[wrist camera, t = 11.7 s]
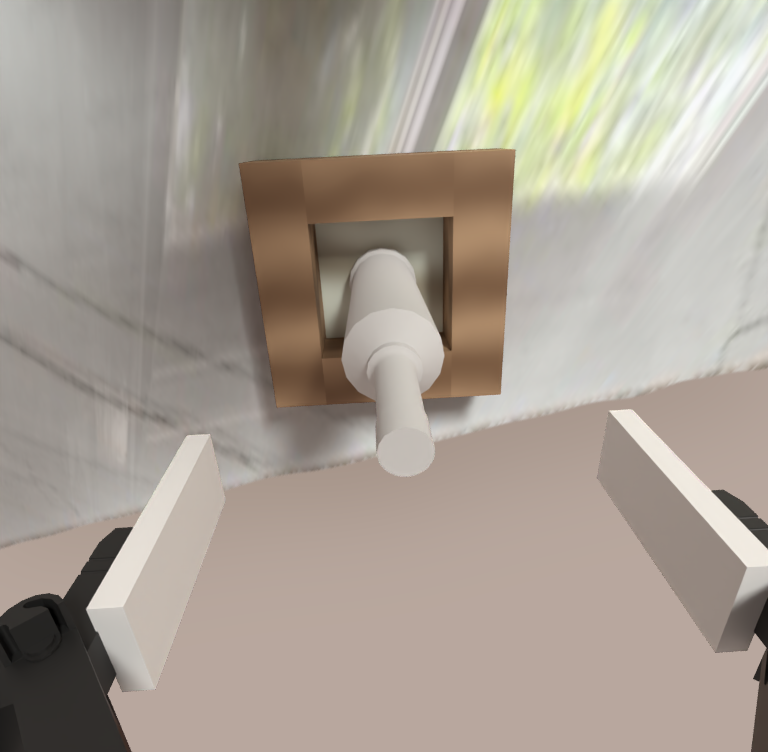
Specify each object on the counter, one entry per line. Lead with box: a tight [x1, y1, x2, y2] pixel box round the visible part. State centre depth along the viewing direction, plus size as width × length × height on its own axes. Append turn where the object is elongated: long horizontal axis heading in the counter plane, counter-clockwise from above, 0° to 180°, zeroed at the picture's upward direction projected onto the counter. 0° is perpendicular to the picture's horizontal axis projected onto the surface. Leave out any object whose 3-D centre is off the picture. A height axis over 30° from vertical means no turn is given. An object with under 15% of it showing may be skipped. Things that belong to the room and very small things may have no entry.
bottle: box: [341, 247, 444, 477], centre depth 29 cm, size 5×5×25 cm
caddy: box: [239, 148, 515, 408], centre depth 39 cm, size 18×18×5 cm
